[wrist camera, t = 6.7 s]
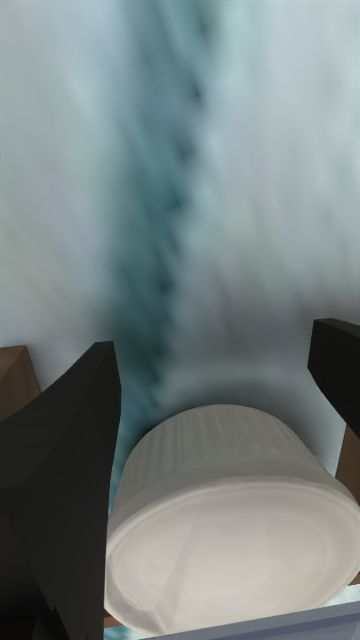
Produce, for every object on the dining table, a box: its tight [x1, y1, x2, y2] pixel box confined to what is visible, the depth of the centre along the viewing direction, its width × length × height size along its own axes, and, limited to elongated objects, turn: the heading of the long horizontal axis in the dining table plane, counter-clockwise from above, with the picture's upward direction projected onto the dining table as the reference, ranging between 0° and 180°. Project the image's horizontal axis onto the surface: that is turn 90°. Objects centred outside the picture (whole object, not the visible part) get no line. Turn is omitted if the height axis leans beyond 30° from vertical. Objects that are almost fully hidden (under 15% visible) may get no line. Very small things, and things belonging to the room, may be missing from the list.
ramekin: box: [104, 404, 360, 637], centre depth 15 cm, size 11×11×5 cm
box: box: [0, 346, 360, 628], centre depth 15 cm, size 17×15×4 cm
